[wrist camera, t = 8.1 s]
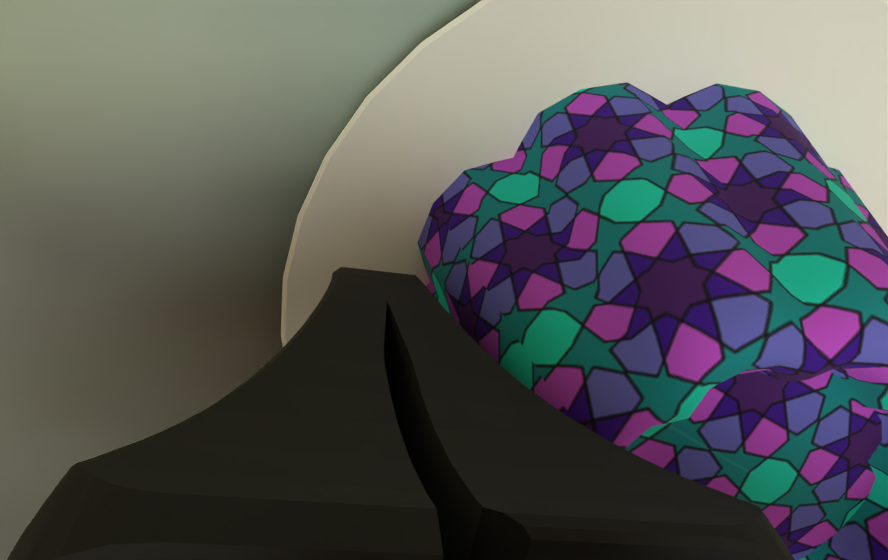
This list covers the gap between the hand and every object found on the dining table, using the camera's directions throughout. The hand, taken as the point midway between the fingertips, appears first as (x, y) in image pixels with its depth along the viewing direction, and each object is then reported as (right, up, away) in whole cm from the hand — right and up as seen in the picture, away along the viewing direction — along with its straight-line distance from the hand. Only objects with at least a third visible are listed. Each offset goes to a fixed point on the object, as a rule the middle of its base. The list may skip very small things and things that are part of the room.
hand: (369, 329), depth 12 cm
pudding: (+4, 0, +2) cm, 5 cm away
